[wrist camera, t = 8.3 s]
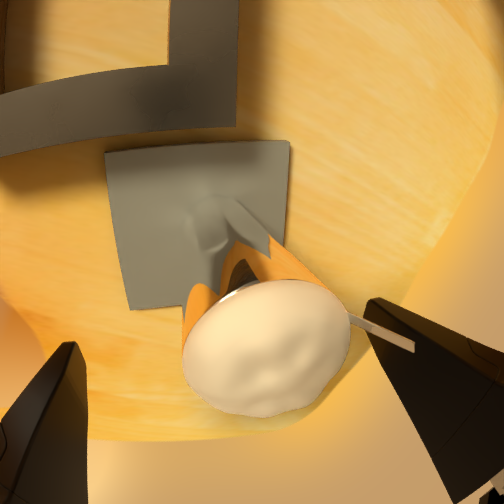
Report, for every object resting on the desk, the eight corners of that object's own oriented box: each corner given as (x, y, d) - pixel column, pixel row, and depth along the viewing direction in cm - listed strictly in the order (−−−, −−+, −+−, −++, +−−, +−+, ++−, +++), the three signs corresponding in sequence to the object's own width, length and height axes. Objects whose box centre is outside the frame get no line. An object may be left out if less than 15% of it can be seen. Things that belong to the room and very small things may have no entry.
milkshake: (292, 235, 16) (414, 390, 8) (196, 285, 16) (247, 475, 8) (258, 154, 14) (413, 279, 5) (148, 211, 14) (149, 413, 5)
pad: (285, 140, 14) (289, 142, 14) (276, 286, 18) (279, 291, 18) (105, 151, 12) (103, 153, 12) (130, 304, 16) (130, 310, 16)
